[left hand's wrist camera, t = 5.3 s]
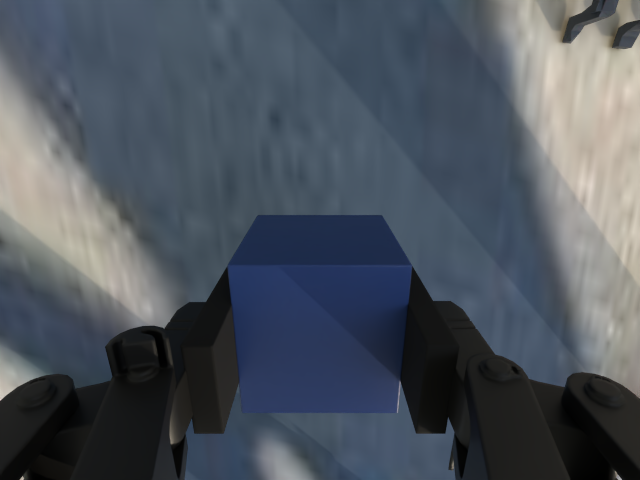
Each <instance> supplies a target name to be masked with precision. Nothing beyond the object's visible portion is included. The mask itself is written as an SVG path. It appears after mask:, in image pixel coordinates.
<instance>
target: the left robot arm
mask: <svg viewBox="0 0 640 480" xmlns="http://www.w3.org/2000/svg"><path fill="white" fill-rule="evenodd" d="M105 348H106V352H107V356H108V360H109V364H110V368H111V372H112V376H113V377H112V379H111V381H108V382H104V383H100V384H96V385H91V386H86V387H82V388H77V389H75V386H74V382H73V379H71V378H70V377H69V376H68V375H62V374H53V375H46V376H42V377H39V378H36V379H33V380H30V381H29V382H27V383H25V384H23V385H21V386H19V387H17V388H16V389H14V390H13V391H12V392H10V393H9V394H8V395H6V396H5V397H4V398H3V399H2V400H1V401H0V480H20V478H21V477H22V476H23V477H24V480H184V478H185V469H186V459H187V450H188V446H187V439H186V434H185V433H186V431H187V428H188V426H189V423H190V421H191V419H192V422H193V428H194V434H224V431H225V427H226V424H227V420H228V417H229V414H230V410H231V407H232V404H233V400H234V397H235V394H236V390H237V387H238V384H239V374H238V364H237V354H236V344H235V333H234V323H233V313H232V304H231V297H230V287H229V277H228V267H227V268H226V269H225V271H224V273H223V274H222V276H221V278H220V280H219V281H218V283H217V285H216V286H215V288H214V290H213V291H212V293H211V295H210V296H209V298H208V300H207V301H206V302H189V303H188V304H186V305H185V306H183V307H182V308H180V309H179V310H177V312H176V313H175V314H174V316H173V317H172V319H171V320H170V322H169V323H168V324H167V326H166V327H165V329H163V328H161V327H157V326H142V327H137V328H133V329H130V330H127V331H125V332H123V333H120V334H119V335H117V336H116V337H114V338H113V339H111V340H110V341H109V343H108V344H107V345H106V346H105ZM401 384H402V388H403V391H404V394H405V398H406V401H407V404H408V408H409V411H410V415H411V418H412V421H413V425H414V428H415V431H416V434H445V432H446V426H447V420H448V417H449V420H450V422H451V425H452V427H453V429H454V432H455V434H454V439H453V445H452V451H451V457H450V462H449V469H448V470H453V469H454V468H455V478H456V480H618V479H617V478H616V476H617V474H618V475H619V476H620V477H621V479H622V480H640V399H639V398H638V397H637V396H636V395H635V394H633V393H632V392H631V391H629V390H628V389H627V388H625V387H624V386H623V385H621V384H619V383H617V382H615V381H613V380H611V379H609V378H606V377H604V376H600V375H596V374H591V373H584V372H581V373H574V374H572V375H571V376H569V377H568V378H567V381H566V385H565V387H561V386H556V385H551V384H547V383H542V382H538V381H534V380H531V379H528V376H527V375H526V373H525V372H524V371H523V369H522V368H521V367H519V366H518V365H517V364H516V363H514V362H513V361H511V360H509V359H507V358H504V357H502V356H498V355H495V354H494V352H493V351H492V349H491V348H490V347H489V345H488V344H487V342H486V341H485V340H484V338H483V337H482V336H481V334H480V333H479V331H478V330H477V329H475V326H474V324H473V323H472V322H471V321H470V319H469V317H468V316H467V315H466V313H465V312H464V310H463V309H461V308H460V307H458V306H457V305H456V304H454V303H453V302H451V301H433V300H432V298H431V297H430V295H429V293H428V292H427V290H426V288H425V287H424V285H423V283H422V282H421V280H420V278H419V277H418V275H417V273H416V271H415V270H414V268H413V266H412V273H411V283H410V293H409V303H408V310H407V321H406V331H405V341H404V351H403V362H402V372H401Z"/></svg>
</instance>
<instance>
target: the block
mask: <svg viewBox="0 0 640 480" xmlns="http://www.w3.org/2000/svg"><path fill="white" fill-rule="evenodd" d="M227 267H228V277H229V287H230V297H231V304H232V313H233V323H234V333H235V344H236V354H237V364H238V374H239V389H240V399H241V409H242V413H397V412H398V405H399V395H400V385H401V372H402V362H403V351H404V341H405V331H406V321H407V310H408V303H409V293H410V283H411V273H412V265H411V263H410V261H409V260H408V258H407V256H406V255H405V253H404V251H403V250H402V248H401V246H400V244H399V243H398V241H397V239H396V238H395V236H394V234H393V233H392V231H391V229H390V228H389V226H388V224H387V223H386V221H385V219H384V218H383V216H382V215H258V216H257V217H256V219H255V221H254V222H253V224H252V226H251V227H250V229H249V231H248V232H247V234H246V236H245V237H244V239H243V241H242V242H241V244H240V246H239V247H238V249H237V251H236V252H235V254H234V256H233V257H232V259H231V260H230V262H229V264H228V266H227Z"/></svg>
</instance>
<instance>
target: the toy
mask: <svg viewBox="0 0 640 480" xmlns="http://www.w3.org/2000/svg"><path fill="white" fill-rule="evenodd" d="M618 1H619V0H593V2H592V5H591V6H590V7H588V8H587V9H586V10H585V11H583V12H582V13H580V14H578V15H575V16H573V17H570V18H569V21H568V25H567V28H566V31H565V35H564V38H563V43H571V42H572V41H573V40H574V39H575V38H576V36H577V35H578V34H579V33H580V32H581V30H582V28H583V27H584V26H585V25H588V24H590V23H593V22H596V21H599V20H601V19H604V18H607V17H609V16H611V15H612V14H614V13H615V10H616V7H617V4H618ZM639 33H640V20H638V21H633V22H629V23H626V24H624V25H623V26H621V27H620V28H618V31H617V34H616V37H615V40H614V43H613V46H612V48H620V49H627V48H631V47H632V46H633V44H634V42H635V40H636V39H637V37H638V35H639Z"/></svg>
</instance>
